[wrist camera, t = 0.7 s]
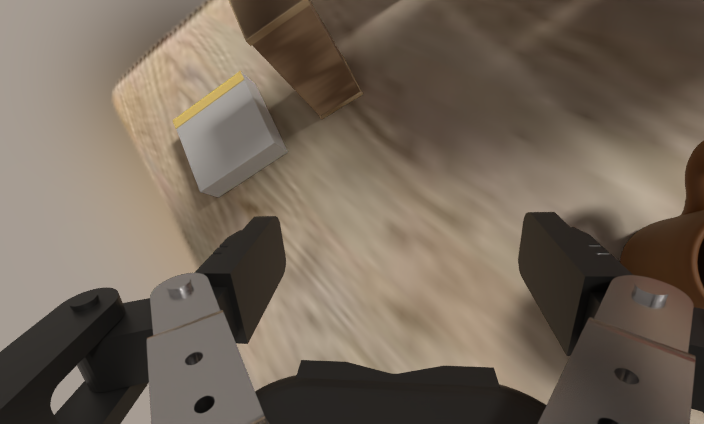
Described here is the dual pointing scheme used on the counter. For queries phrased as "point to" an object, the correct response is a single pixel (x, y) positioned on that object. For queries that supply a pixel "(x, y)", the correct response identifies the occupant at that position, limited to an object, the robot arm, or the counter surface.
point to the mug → (675, 240)
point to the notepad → (229, 136)
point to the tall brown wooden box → (299, 50)
